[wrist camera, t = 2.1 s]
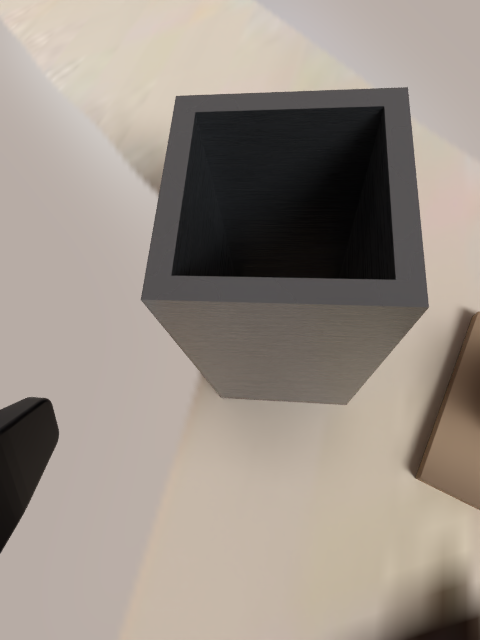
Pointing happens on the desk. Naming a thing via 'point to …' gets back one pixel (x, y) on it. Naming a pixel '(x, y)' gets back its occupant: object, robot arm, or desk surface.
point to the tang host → (458, 428)
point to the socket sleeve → (288, 240)
